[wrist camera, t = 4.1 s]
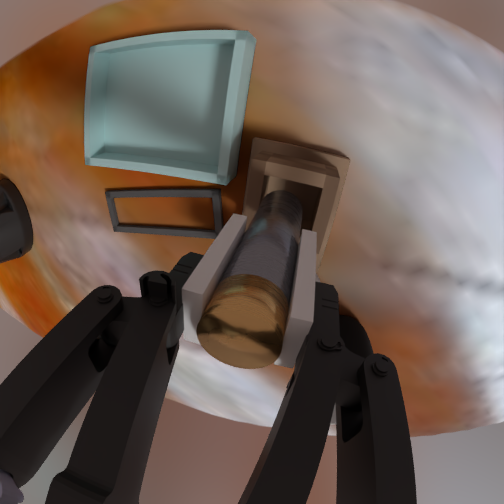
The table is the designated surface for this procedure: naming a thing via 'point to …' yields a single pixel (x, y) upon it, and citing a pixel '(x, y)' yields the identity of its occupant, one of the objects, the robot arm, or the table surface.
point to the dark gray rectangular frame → (186, 232)
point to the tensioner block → (297, 184)
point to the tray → (169, 103)
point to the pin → (255, 288)
